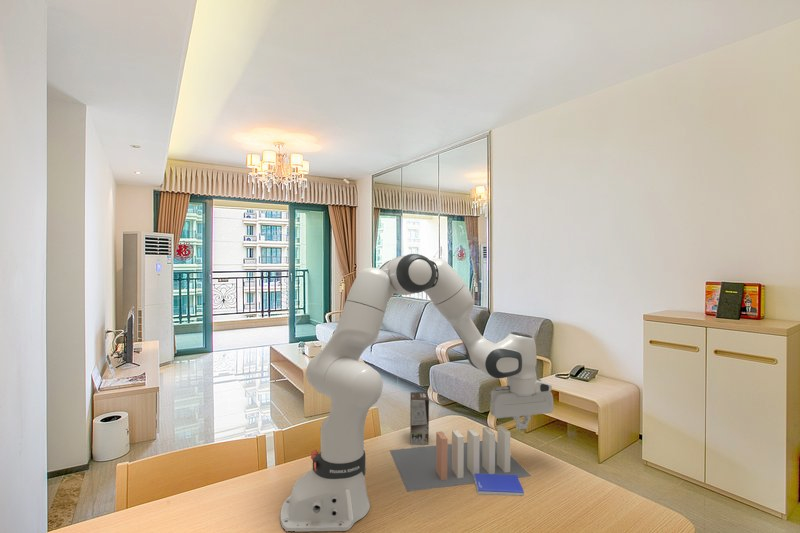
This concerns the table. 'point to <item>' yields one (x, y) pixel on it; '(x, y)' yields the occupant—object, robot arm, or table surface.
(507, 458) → the domino
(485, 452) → the domino
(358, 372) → the robot arm
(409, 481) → the mat
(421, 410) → the coffee box
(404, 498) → the table surface
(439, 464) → the tile
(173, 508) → the table surface
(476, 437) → the domino
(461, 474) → the domino
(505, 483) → the hard drive
